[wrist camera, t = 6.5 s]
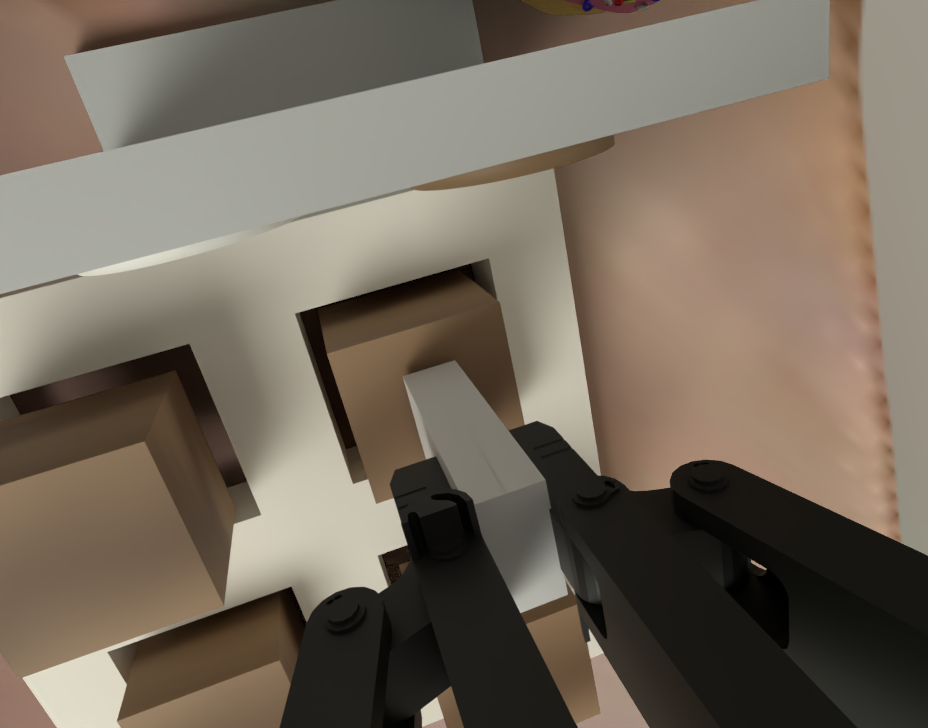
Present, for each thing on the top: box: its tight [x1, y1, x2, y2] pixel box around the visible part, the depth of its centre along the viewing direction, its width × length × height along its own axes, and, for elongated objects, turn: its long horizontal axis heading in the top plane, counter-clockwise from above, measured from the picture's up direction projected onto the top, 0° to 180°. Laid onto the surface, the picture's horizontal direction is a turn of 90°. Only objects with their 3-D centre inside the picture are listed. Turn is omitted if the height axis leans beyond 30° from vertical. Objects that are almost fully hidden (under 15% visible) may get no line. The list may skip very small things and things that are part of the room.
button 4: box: [318, 269, 525, 504], centre depth 20 cm, size 5×5×4 cm
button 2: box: [0, 370, 236, 679], centre depth 16 cm, size 5×5×4 cm
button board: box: [0, 168, 604, 728], centre depth 22 cm, size 20×20×2 cm
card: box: [0, 0, 830, 294], centre depth 12 cm, size 4×11×14 cm, turn 103°
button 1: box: [117, 588, 305, 728], centre depth 22 cm, size 5×5×4 cm
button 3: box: [399, 561, 600, 728], centre depth 21 cm, size 5×5×4 cm
